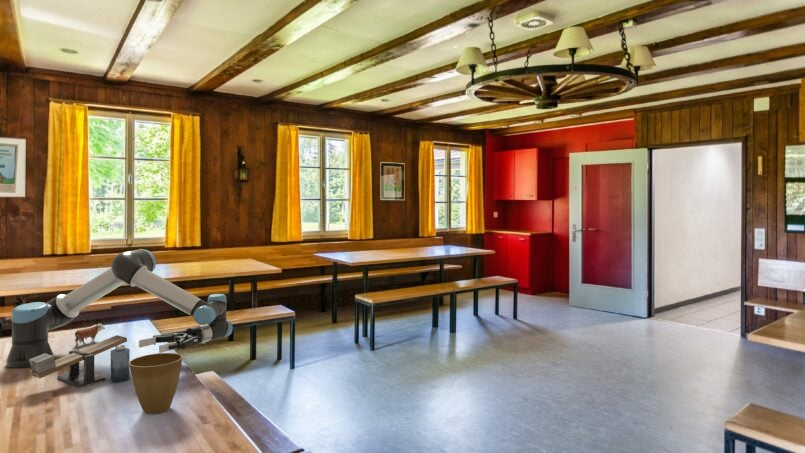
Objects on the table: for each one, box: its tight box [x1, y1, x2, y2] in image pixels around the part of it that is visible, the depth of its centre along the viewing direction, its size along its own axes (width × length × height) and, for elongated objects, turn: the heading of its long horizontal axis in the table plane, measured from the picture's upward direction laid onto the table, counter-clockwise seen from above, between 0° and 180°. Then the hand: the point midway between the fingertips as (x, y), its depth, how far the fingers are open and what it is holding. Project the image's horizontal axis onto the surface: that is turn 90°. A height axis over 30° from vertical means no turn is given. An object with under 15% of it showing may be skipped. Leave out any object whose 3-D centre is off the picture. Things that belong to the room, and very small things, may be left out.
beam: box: [29, 334, 128, 379], centre depth 178 cm, size 9×30×6 cm, turn 148°
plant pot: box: [129, 352, 183, 415], centre depth 153 cm, size 15×15×16 cm
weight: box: [110, 344, 131, 384], centre depth 179 cm, size 6×6×12 cm
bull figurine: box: [74, 323, 106, 346], centre depth 228 cm, size 4×13×8 cm, turn 155°
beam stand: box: [56, 349, 107, 388], centre depth 179 cm, size 16×9×10 cm, turn 58°
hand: (149, 346), depth 188 cm, fingers open, 13 cm apart
